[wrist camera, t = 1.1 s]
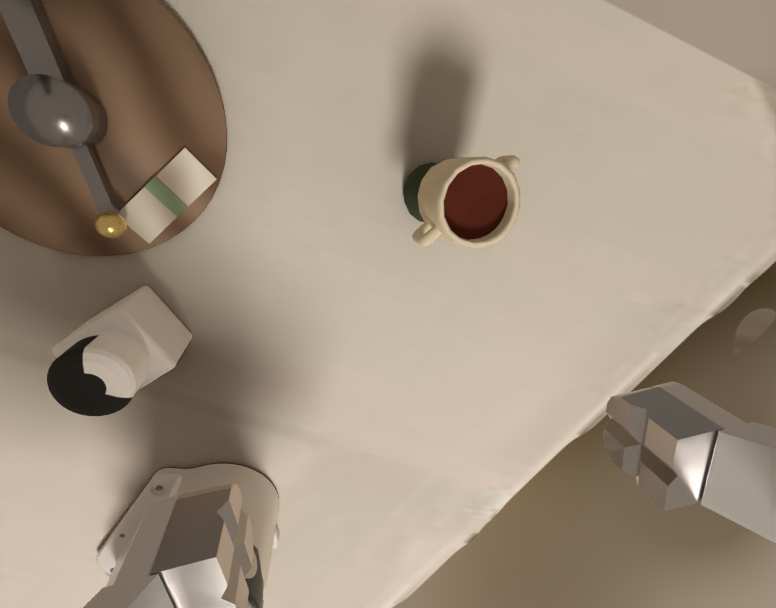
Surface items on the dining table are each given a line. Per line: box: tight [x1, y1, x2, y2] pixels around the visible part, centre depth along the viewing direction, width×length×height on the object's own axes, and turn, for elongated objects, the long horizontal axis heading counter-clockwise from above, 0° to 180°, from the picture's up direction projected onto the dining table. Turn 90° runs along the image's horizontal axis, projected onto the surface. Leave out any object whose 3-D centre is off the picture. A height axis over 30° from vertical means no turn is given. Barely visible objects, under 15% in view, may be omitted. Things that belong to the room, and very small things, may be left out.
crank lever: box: [0, 0, 127, 238], centre depth 29 cm, size 5×22×9 cm, turn 16°
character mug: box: [404, 155, 520, 248], centre depth 38 cm, size 11×7×13 cm, turn 130°
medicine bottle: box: [47, 285, 193, 416], centre depth 36 cm, size 7×7×12 cm
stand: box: [0, 0, 227, 256], centre depth 34 cm, size 24×24×1 cm
